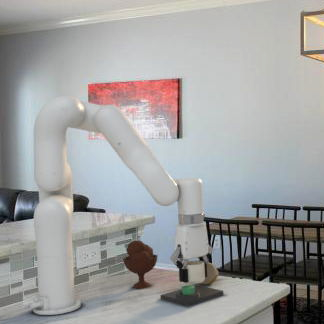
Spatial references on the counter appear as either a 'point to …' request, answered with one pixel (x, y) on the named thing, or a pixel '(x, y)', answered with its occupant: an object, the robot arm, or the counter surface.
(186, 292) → the button
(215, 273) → the mug
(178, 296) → the scale
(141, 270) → the ice cream bowl
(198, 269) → the cream cup
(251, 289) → the counter surface
